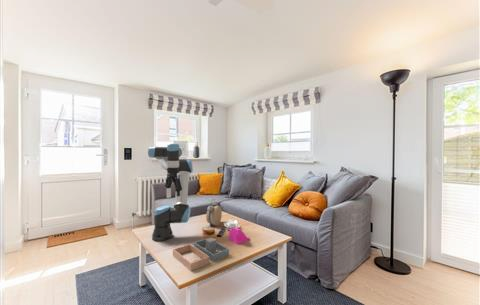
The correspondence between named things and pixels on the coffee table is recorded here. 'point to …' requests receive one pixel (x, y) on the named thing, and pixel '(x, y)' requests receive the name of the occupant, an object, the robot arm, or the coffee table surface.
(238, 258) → the coffee table surface
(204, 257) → the trough
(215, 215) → the beige tall rounded piece
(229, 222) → the lotus flower
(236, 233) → the bracket
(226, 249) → the trough
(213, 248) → the stone block
